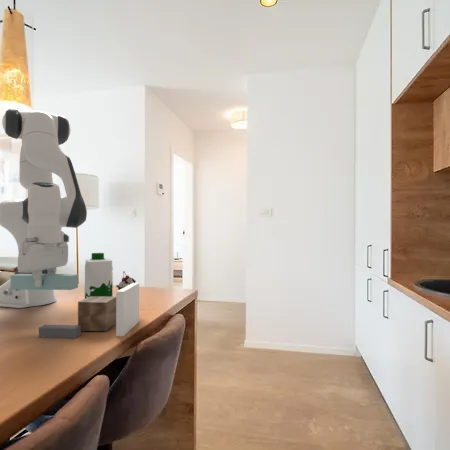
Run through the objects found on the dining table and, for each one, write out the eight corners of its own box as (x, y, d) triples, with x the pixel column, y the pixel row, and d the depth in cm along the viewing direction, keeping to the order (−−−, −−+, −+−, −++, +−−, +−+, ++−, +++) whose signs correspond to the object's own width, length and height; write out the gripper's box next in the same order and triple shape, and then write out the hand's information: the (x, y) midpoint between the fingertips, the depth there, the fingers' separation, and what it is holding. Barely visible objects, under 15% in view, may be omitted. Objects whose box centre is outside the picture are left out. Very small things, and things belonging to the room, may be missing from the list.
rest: (38, 337, 93) (38, 327, 93) (45, 333, 96) (45, 324, 96) (75, 338, 93) (75, 328, 93) (80, 334, 96) (80, 325, 96)
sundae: (117, 320, 111) (117, 272, 111) (114, 314, 117) (114, 269, 117) (138, 317, 113) (138, 271, 113) (134, 313, 119) (135, 268, 119)
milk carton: (109, 308, 126) (109, 252, 126) (114, 314, 118) (114, 254, 118) (83, 311, 122) (83, 253, 122) (86, 317, 114) (86, 255, 114)
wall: (116, 336, 95) (116, 291, 95) (132, 321, 109) (132, 282, 109) (123, 336, 95) (123, 291, 95) (139, 321, 109) (139, 282, 109)
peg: (10, 289, 101) (10, 275, 101) (19, 287, 105) (19, 273, 105) (71, 289, 100) (71, 275, 100) (77, 287, 104) (77, 274, 104)
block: (77, 330, 99) (78, 301, 99) (90, 322, 107) (90, 296, 106) (105, 331, 98) (106, 302, 98) (116, 323, 106) (116, 296, 106)
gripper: (34, 238, 92) (33, 291, 92) (72, 236, 113) (72, 279, 113) (10, 238, 93) (10, 290, 93) (52, 236, 113) (52, 279, 113)
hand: (44, 284), depth 103 cm, fingers closed on peg, 4 cm apart
